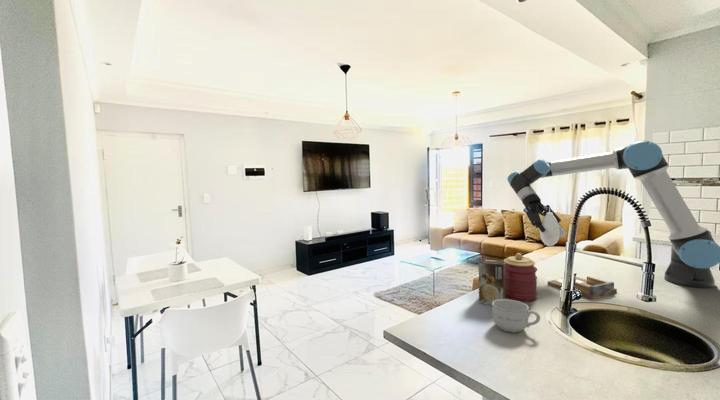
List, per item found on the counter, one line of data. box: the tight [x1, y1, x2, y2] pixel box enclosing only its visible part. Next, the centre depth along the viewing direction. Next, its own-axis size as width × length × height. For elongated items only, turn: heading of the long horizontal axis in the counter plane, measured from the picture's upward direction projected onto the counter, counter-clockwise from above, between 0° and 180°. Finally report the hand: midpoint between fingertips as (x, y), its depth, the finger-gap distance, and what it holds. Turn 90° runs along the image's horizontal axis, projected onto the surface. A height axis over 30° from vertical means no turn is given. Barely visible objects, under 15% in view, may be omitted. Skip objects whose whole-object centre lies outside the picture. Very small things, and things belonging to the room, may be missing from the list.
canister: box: [503, 252, 538, 303], centre depth 129 cm, size 13×13×18 cm
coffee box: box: [478, 258, 505, 306], centre depth 124 cm, size 9×6×16 cm
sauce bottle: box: [539, 207, 561, 247], centre depth 146 cm, size 8×8×18 cm
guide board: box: [547, 276, 618, 300], centre depth 135 cm, size 16×18×4 cm
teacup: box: [491, 298, 541, 333], centre depth 102 cm, size 14×11×8 cm
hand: (556, 236), depth 143 cm, fingers closed on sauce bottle, 7 cm apart
